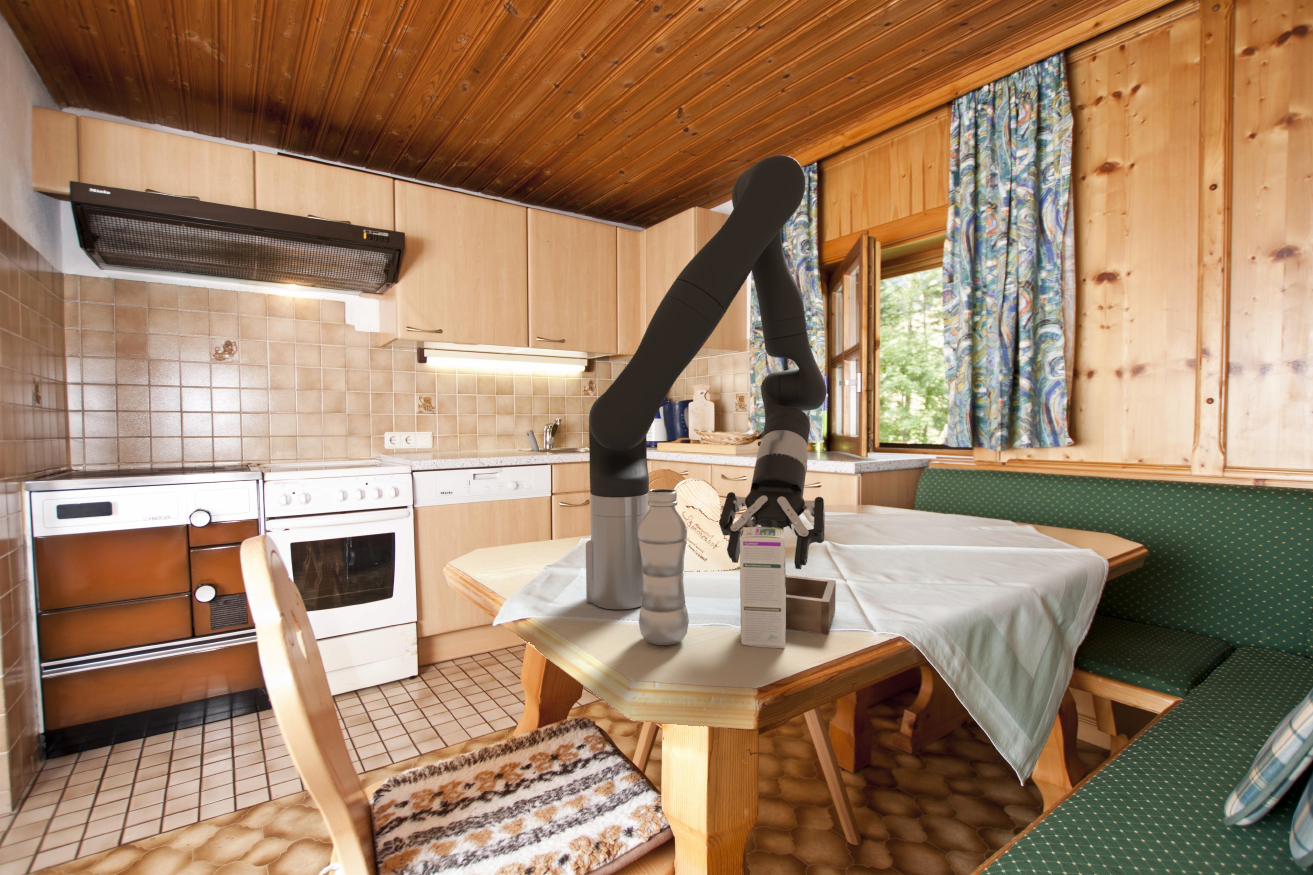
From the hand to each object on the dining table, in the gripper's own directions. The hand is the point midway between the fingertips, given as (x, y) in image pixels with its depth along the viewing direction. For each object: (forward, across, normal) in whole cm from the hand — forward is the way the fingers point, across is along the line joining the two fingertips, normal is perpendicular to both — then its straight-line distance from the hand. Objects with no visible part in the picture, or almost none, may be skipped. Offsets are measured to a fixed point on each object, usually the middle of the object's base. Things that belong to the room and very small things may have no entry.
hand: (765, 562), depth 77 cm
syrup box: (+8, 0, +6) cm, 10 cm away
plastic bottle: (+12, -12, +3) cm, 17 cm away
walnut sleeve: (+1, +3, +13) cm, 13 cm away
